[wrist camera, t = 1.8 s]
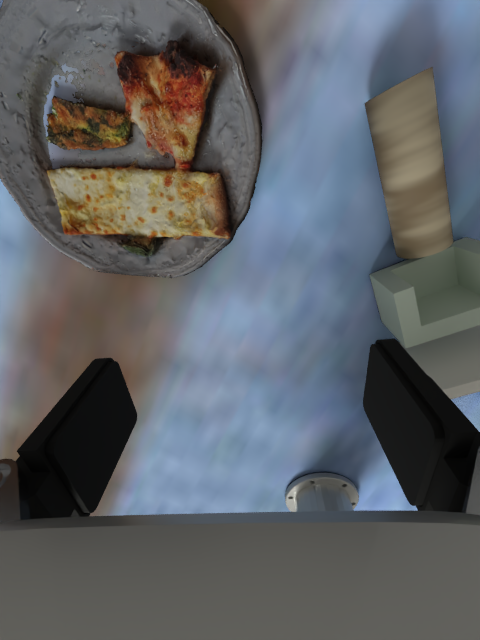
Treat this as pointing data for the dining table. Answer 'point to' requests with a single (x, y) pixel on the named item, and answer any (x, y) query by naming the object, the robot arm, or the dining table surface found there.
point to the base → (451, 361)
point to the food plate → (128, 131)
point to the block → (431, 294)
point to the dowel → (412, 165)
